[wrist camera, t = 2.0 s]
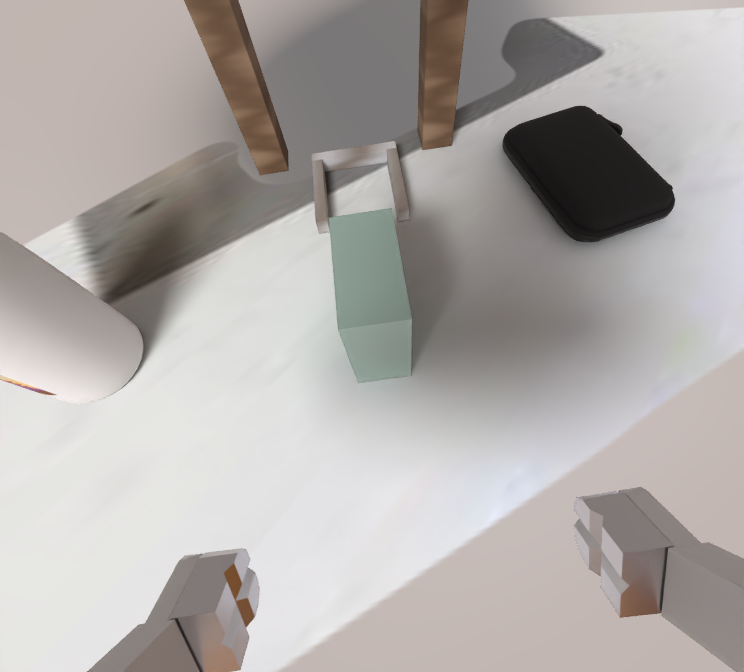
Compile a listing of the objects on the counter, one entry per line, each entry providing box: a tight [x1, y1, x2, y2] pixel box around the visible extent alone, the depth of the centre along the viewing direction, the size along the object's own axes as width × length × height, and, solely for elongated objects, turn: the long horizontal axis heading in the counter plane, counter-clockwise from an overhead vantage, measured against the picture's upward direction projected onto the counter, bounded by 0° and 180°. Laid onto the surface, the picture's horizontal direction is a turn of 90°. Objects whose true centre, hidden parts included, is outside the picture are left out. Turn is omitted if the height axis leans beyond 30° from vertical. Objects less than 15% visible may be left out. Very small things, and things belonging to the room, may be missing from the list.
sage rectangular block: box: [329, 208, 412, 383], centre depth 26 cm, size 4×8×9 cm, turn 6°
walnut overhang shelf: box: [184, 0, 468, 233], centre depth 26 cm, size 20×14×24 cm
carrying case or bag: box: [503, 106, 675, 242], centre depth 34 cm, size 11×3×15 cm
